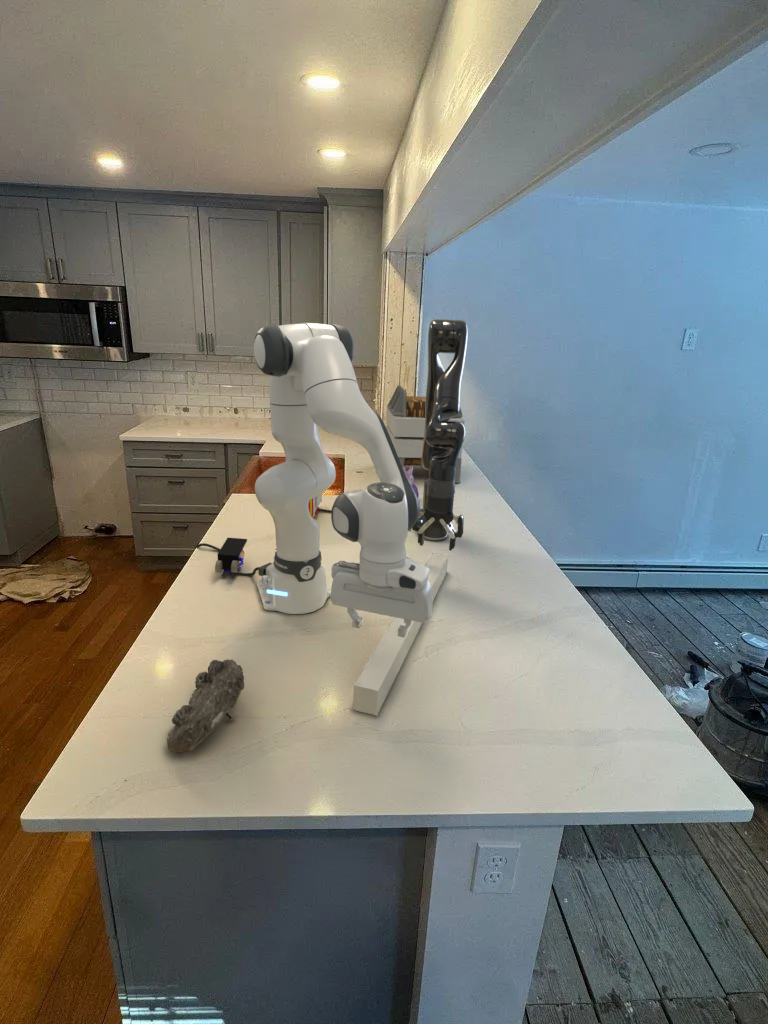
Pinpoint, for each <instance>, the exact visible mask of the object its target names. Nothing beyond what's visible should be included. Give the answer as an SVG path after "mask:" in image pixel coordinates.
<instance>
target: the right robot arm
mask: <svg viewBox="0 0 768 1024" xmlns="http://www.w3.org/2000/svg"><path fill="white" fill-rule="evenodd" d="M468 331H469V330H468V324H467V322H466V321H464V320H463V319H446V318H445V319H443V318H436V319H433V320H431V321H430V322H429V326H428V332H427V333H428V334H427V380H426V389H425V397H426V403H425V430H424V439H423V447H422V458H421V461H422V466H421V467H422V468H423V470H426V471H429V472H428V478H427V479H425V480H424V482H423V493H422V496H423V497H422V506H421V508H420V514H419V517H418V519H417V521H416V523H415V525H414V526H413V527H412V529H411V530H412V531H414V532H417V544H419V547H423V546H424V543H425V540H426V541H432V542H440V541H444V540H446V539H447V538H448V535H449V545H448V551H453V550H454V549H455V547H456V541H457V539H458V538H459V539H460V538H462V537H463V535H464V521H465V516H464V515H463V514H460V515H455V514H454V502H455V494H456V490H455V489H456V483H455V469H456V462H457V458H458V454H459V452H460V449H461V446H462V447H463V445H464V441H465V438H466V428H465V424H464V425H463V424H462V423H460V422H454V421H449V420H450V418H453V417H455V416H457V414H458V413H459V405H460V403H461V402H460V401H461V399H460V398H461V385H462V377H463V372H464V368H465V361H466V353H467V346H468V333H469V332H468ZM440 354H454V356H453V359H452V360H451V362H450V364H449V365H448V366H447V368H446V369H444V366H443V364H442V362H441V358H440ZM460 406H461V405H460ZM318 512H322V513H327V514H328V513H329V514H331V513H332V509H323V508H319V509H318ZM453 521H454V522H455V524H457V531H456V529H454V525H453V524H452V522H453Z"/></svg>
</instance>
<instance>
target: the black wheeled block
mask: <svg viewBox="0 0 768 1024" xmlns="http://www.w3.org/2000/svg"><path fill="white" fill-rule="evenodd" d="M247 542H248V538H240V537H226V539H225V541H224V543H223V544H222V546H221V547H220V548H219V549H220V551H218V552H217V560H216V562H215V564H214V572H215V573H221V577H222V578H224V577H225V576H226V574H227V573H230V572H233V574H232V573H230V574H231V578H234V577H235V573H236V572H239V571H240V567H242V566H243V565H244V564H245V562H244V558H245V551H244V547H245V546H246V544H247Z"/></svg>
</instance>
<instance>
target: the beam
mask: <svg viewBox="0 0 768 1024" xmlns="http://www.w3.org/2000/svg"><path fill="white" fill-rule="evenodd" d="M448 563H449V555H448V554H441V553H435V552H431V554H430V556H429V557H428V559H427V561H426V562H425V565H424V566H425V567H427V568H428V569H429V576H428V580H427V581H428V582H429V583H430V585H431V588H432V597H433V601H434V600H435V598H436V595H437V594H438V592H439V590H440V588H441V586H442V583H443V581H444V580H445V577H446V575H447V572H448ZM405 624H406V623H404V619H401V618H396V617H393V618H392V621H391V622H390V623H389V625H388V627H387V628H386V631H385V632H384V633H383V636H381V639H380V640H379V642H378V644H377V646H376V647H375V649H374V651H373V652H372V654H371V656H370V657H369V659H368V661H367V662H366V664H365V666H364V668H363V669H362V671H361V672H360V674H359V676H358V678H357V679H356V681H355V683H354V685H353V707H352V710H353V711H356V712H360V713H363V714H368V715H373V716H376V717H377V716H378V714H379V712H380V710H381V708H382V706H383V704H384V702H385V701H386V698H387V696H388V694H389V692H390V690H391V688H392V686H393V684H394V682H395V680H396V678H397V676H398V673H399V672H400V670H401V668H402V665H403V664H404V661H405V659H406V658H407V655H408V653H409V650H410V649H411V647H412V645H413V643H414V641H415V639H416V637H417V634H418V633H419V631H420V629H421V626H422V624H423V623H421V622H416V621H412V623H411V625H410V626H409V627H408V629H407V634H406V637H405V638H404V637H399V636H398V628H399V626H400V625H405Z"/></svg>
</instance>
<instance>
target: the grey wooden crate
mask: <svg viewBox="0 0 768 1024" xmlns="http://www.w3.org/2000/svg"><path fill="white" fill-rule="evenodd" d="M407 394H408V393H407V390H406V389H404V388H403V387H402V385H399V384H398V385H397V386H396V388H395V390H394V392H393V394H392V395H391V398H390V400H389V402H388V404H387V405H386V413H385V414H386V415H385V423H386V425H385V426H386V429H387V431H388V433H389V436H390V438H391V440H392V443H393V445H394V448H395V450H396V453H397V455H398V458H399V460H400V463H401V465H402V467H405V466H406V467H407V466H410V467H411V466H413V467H415V466H416V467H417V466H418V467H423V466H422V461H421V458H422V447H423V439H424V430H425V403H426V396H415V395H414V396H413V395H412V396H411V395H407ZM449 421H454V422H460V423H462V424H463V425H464V426H465V419H464V418H463V411H462V408H461V405H459V413H458V414H457V416H455V417H453V418H450V420H449ZM462 453H463V445H462V446H461V449H460V452H459V454H458V458H457V462H456V469H455V484H459V483H461V472H462V461H463V460H462Z"/></svg>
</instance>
